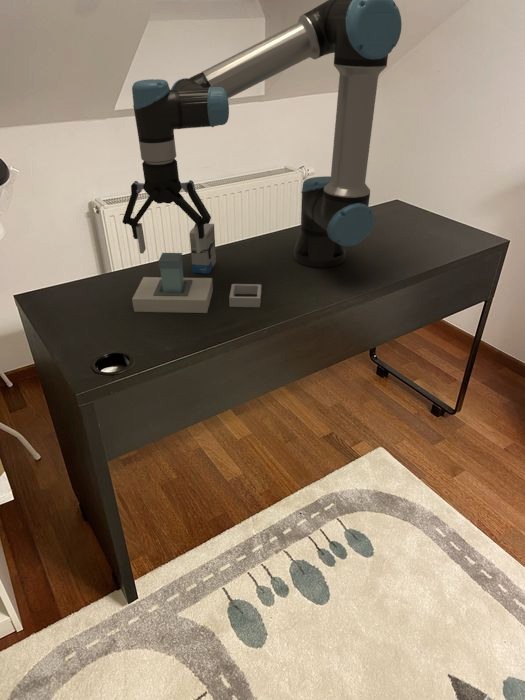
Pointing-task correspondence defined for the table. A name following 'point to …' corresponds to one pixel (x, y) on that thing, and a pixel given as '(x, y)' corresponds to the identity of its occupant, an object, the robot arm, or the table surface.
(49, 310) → the table surface
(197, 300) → the port
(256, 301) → the grey square frame
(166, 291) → the plug
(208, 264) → the ink box
